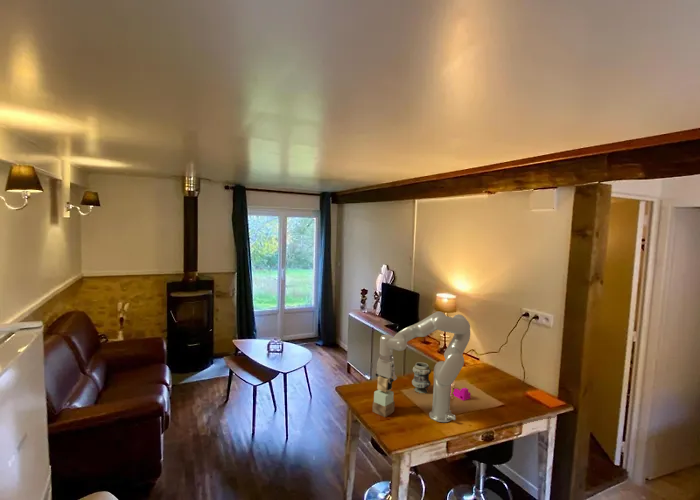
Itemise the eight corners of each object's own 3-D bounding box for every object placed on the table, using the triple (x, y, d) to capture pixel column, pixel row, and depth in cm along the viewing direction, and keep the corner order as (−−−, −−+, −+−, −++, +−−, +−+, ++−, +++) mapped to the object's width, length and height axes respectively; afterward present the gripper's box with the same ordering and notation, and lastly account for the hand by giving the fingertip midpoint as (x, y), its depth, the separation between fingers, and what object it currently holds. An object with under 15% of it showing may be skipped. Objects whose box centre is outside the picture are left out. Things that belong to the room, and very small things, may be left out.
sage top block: (393, 402, 215) (393, 391, 215) (385, 406, 209) (385, 396, 209) (382, 397, 220) (382, 387, 220) (373, 401, 214) (374, 391, 214)
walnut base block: (394, 412, 216) (394, 401, 215) (385, 417, 209) (385, 407, 209) (381, 406, 222) (381, 396, 221) (372, 412, 215) (372, 401, 214)
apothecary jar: (424, 386, 252) (425, 360, 251) (433, 394, 241) (435, 367, 240) (408, 388, 248) (409, 361, 247) (416, 396, 237) (418, 368, 236)
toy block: (470, 399, 235) (470, 388, 235) (463, 402, 232) (464, 390, 231) (451, 390, 247) (451, 379, 247) (444, 393, 244) (445, 381, 243)
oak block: (391, 389, 215) (392, 377, 214) (385, 392, 210) (386, 380, 210) (383, 385, 219) (383, 374, 218) (377, 389, 214) (377, 377, 214)
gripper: (402, 358, 211) (400, 389, 212) (377, 351, 222) (376, 381, 223) (395, 362, 205) (393, 394, 206) (369, 354, 216) (368, 384, 217)
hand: (384, 387), depth 214 cm, fingers closed on oak block, 6 cm apart
